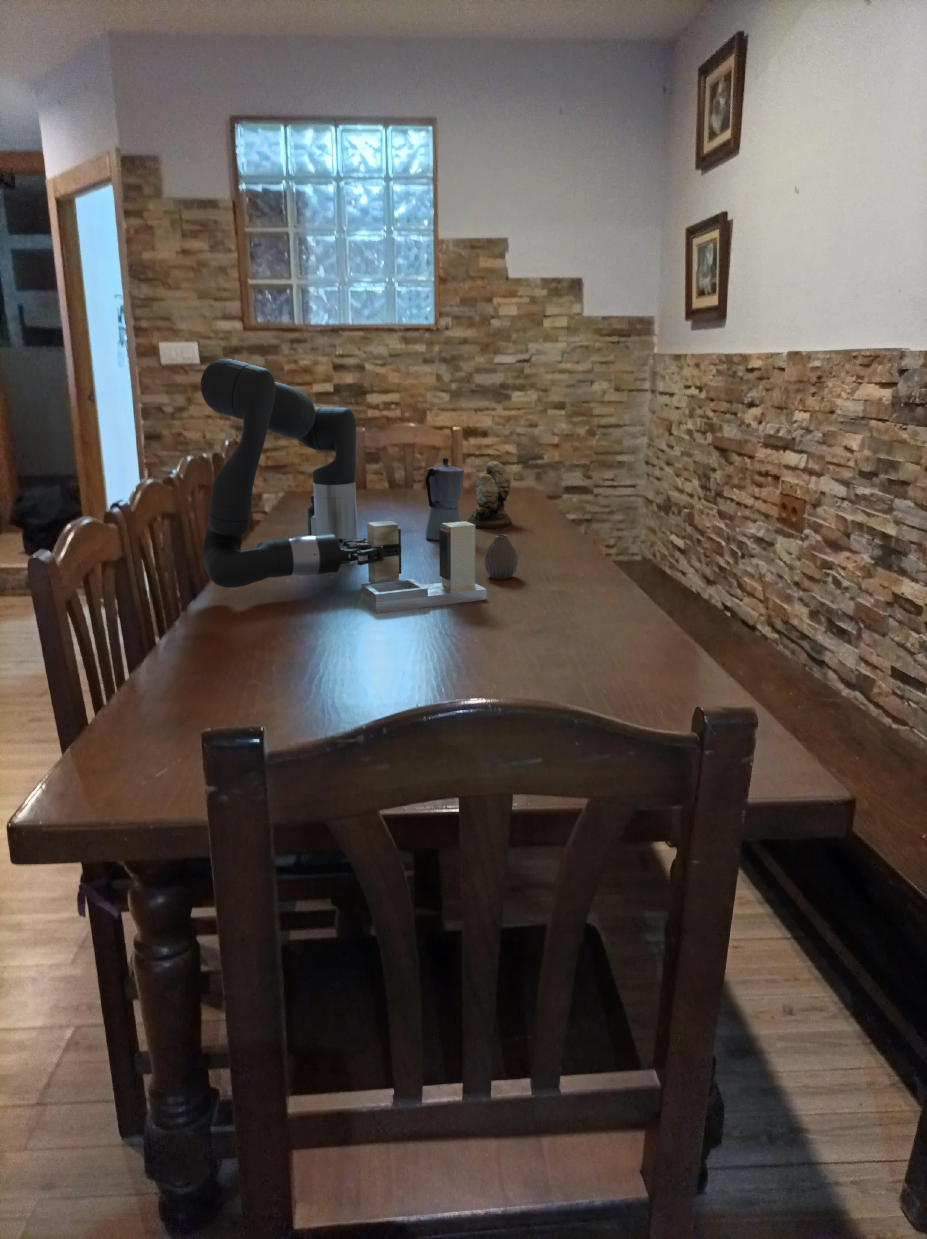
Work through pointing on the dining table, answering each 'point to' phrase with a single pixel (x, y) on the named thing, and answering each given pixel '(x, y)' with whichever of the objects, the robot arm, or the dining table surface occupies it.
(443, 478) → the moka pot
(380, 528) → the tall beige block
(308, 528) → the supplement bottle
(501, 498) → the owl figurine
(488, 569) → the vase
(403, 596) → the grey stand with upright
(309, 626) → the dining table surface
